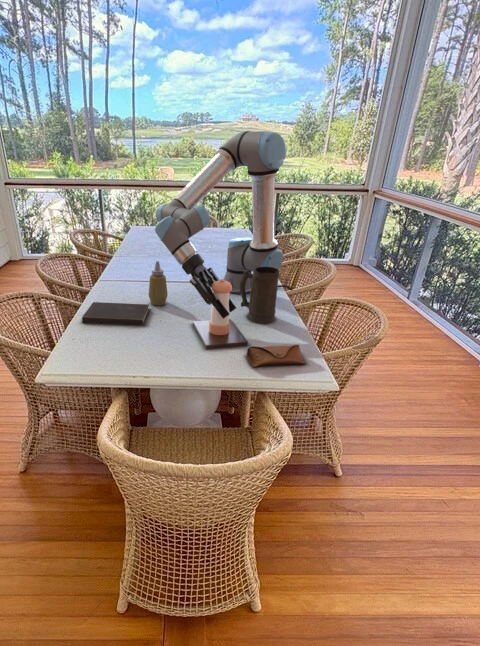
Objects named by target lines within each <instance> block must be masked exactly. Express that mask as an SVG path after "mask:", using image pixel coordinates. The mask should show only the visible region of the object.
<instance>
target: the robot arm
mask: <svg viewBox="0 0 480 646" xmlns="http://www.w3.org/2000/svg"><path fill="white" fill-rule="evenodd" d="M286 157H287V145H286V141H285V139H284V138H283V136H282V135H281V134H280V133H279V132H276V131H269V130H244V131H241V132H238V133H236V134H234V135H232V137H230V138H229V139H227V140H226V141H225V142H224V143H222V145H220V146H219V147H218V149H217V150H216V151H215V152H214V157H213V158H212V159H211V160H210V161H208V163H207V164H206V165H205V166H204V167H203V168H202V169H201V170H200V171H199V172H198V173H197V174H196V175H195V176H194V177H193V178H192V179H191V180H190V182H188V183H187V184H186V185H185V186H184V187H183V188H182V190H181V191H180V192H178V193H177V195H176V196H175V197H174V198H173V199H171V201H170V202H169V203H163V204H160V205H159V206H157V208H156V210H155V219H156V221H157V222H158V223H157V224H156V225H155V227H154V231H155V233H156V235H157V237H158V238H159V241H161V242H162V243H163V245H164V246H165V247H166V249H167V250H168V251H169V252H170V254H171V256H173V258H174V259H175V261H176V262H177V263H178V264H179V266H180V265H181V268H182V270H183V272H184V273H185V275H187V276H189V275H191V279H190V280H189V283H190V285H192V286H193V287H194V288H195V290H196V291H197V292H198V294H199V295H200V297H201V298H202V299H203V301H204V302H205V303H206V305H208V306H210V305H211V306H212V305H213V306H214V307H215V308H216V310H217V311H218V312H219V314H220V315H221V316H222V318H223V319H224V318H225V317H226V316H228V315H229V316H230V314H229V313H232V312H234V311H235V310H236V309H237V306H236V305H235V304H234V303H233V301H232V300H231V298H229V312H228V311H227V310H226V308H225V307H224V306H223V304H222V303H221V302H220V300H219V299H217V300H216V297H215V295H214V294H213V293H214V291H213V290H212V284H213V283H214V282H215V281H219V280H220V278H219V277H218V276H217V274H216V273H215V272H214V269H213V267H212V266H210V267H208V268H207V267H206V266H205V265H204V263H205V259H204V258H203V257H202V255H201V254H200V253H198V250H197V249H196V248H195V246H194V245H193V244H192V242H191V241H190V238H191V237H193V236H195V235H197V234H198V233H200V232H201V231H203V230H204V229H206V227H208V225H210V223H211V217H210V213H209V211H208V210H207V209H206V207H204V206H203V205H198V204H199V203H200V202H201V201H202V200H203V199H204V198H205V197H206V196H207V195H208V194H209V193H210V192H211V191H212V190H213V189H214V188H215V187H216V186H217V185H218V184H219V182H221V181H222V180H223V178H224V177H226V175H227V174H230V173H233V172H234V171H235V170H236V169H237V168H240V167H247V175H248V177H249V178H251V196H252V197H251V198H252V199H251V201H252V203H251V204H252V237H236V238H232V239H230V240H229V241H228V246H227V255H226V272H225V274H224V276H223V279H224V280H225V281H227V282H229V283H231V285H232V290H231V292H230V293H232V294H240V295H241V293H240V282H241V279H242V277H243V271H248V272H249V273H252V274H253V272H254V269H255V268H257V267H273V268H276V269H278V270H279V271H280V269H281V267H282V264H283V262H284V253H283V251H282V250H281V249H279V246H278V244H279V242H278V240H277V239H276V238H275V193H276V192H275V191H276V189H275V188H276V187H275V186H276V184H275V183H276V179H275V178H276V175H278V174H279V173H280V168H281V167H282V166H283V165H284V163H285V160H286ZM251 286H252V279H251V278H247V280H246V282H245V292H246V294H250V292H251ZM277 288H286V289H288V290H289V291H293V288H292V287H291V286H289V285H285V284H281V285H279V284H278V286H277Z"/></svg>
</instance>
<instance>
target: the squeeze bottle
mask: <svg viewBox="0 0 480 646" xmlns="http://www.w3.org/2000/svg"><path fill="white" fill-rule="evenodd" d="M148 298H149V301H150V303H151V305H153V306H163V305H165V304H166V301H167V299H168V285H167V276H166V275H165V274H164V269H163V268H161V264H160V260H156V261H155V264H154V268H152V270H151V275H149V283H148Z"/></svg>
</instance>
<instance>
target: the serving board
mask: <svg viewBox="0 0 480 646" xmlns="http://www.w3.org/2000/svg"><path fill="white" fill-rule="evenodd" d="M210 320H211V319H208V320H207V319H206V320H192V326H193V328H194V330H195V332H196V334H197V336H198V337H199V339H200V341H201V343H202V345H203V346H204V348H205V350H212V349H222V348H234V347H235V348H236V347H248V345H249V341H248V340H247V339H246V337H245V335H244V334H243V333H242V332H241V331H240V330H239V328H238V327H237V326H236V324H235V323H234V322H233V320H232V318H229V323H230V325H229V333H228V334H225V335H214V334H212V333H210V332H209V322H210Z"/></svg>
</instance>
